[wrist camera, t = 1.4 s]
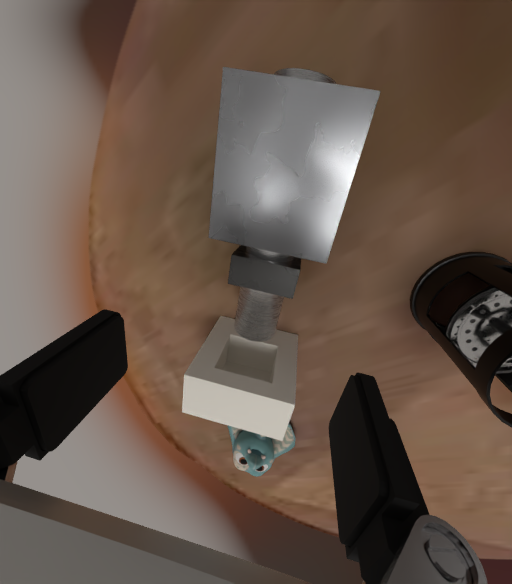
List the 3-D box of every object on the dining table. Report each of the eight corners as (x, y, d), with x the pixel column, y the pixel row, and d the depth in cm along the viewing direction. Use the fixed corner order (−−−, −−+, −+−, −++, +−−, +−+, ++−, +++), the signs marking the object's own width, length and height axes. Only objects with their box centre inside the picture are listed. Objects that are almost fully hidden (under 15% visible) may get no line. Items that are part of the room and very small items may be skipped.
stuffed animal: (315, 445, 30) (277, 508, 33) (309, 405, 37) (278, 460, 40) (234, 411, 30) (204, 478, 34) (244, 377, 37) (218, 435, 40)
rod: (269, 89, 18) (257, 57, 13) (340, 100, 18) (353, 71, 13) (235, 309, 26) (220, 337, 22) (283, 320, 26) (278, 352, 21)
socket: (220, 315, 31) (184, 374, 22) (298, 334, 30) (295, 405, 21) (216, 346, 33) (182, 412, 24) (288, 365, 32) (282, 441, 23)
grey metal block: (257, 113, 22) (223, 66, 13) (348, 128, 21) (380, 91, 12) (242, 217, 26) (208, 237, 17) (318, 233, 25) (326, 263, 16)
